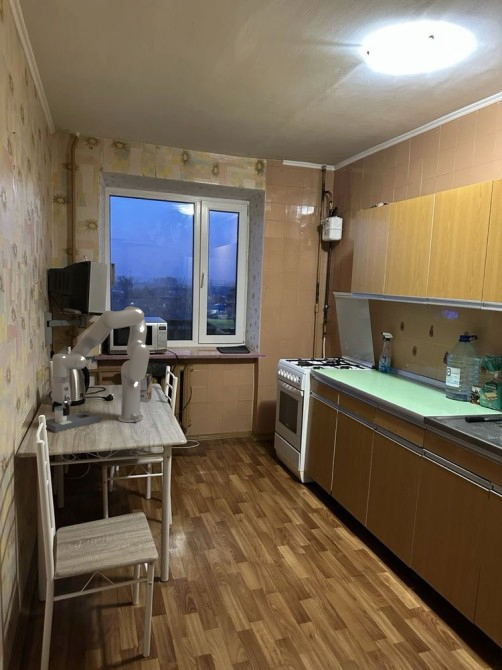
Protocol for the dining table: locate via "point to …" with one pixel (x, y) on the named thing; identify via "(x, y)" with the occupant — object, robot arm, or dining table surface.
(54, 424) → the charcoal socket panel
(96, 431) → the dining table surface
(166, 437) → the dining table surface
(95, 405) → the dining table surface
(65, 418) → the white plug block
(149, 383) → the coffee box
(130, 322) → the robot arm
